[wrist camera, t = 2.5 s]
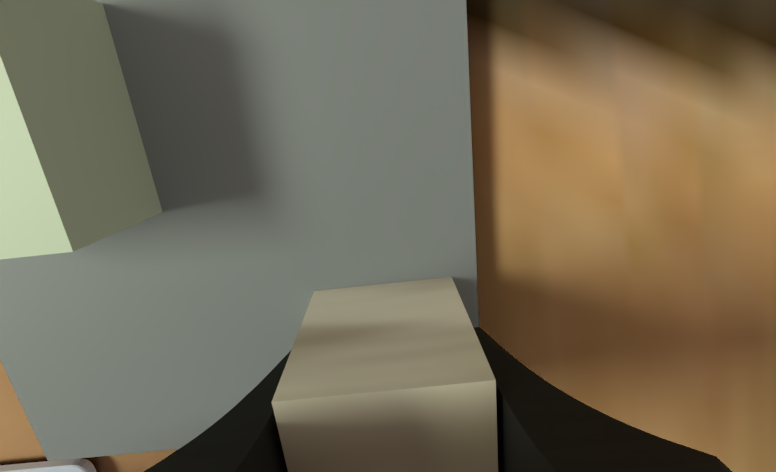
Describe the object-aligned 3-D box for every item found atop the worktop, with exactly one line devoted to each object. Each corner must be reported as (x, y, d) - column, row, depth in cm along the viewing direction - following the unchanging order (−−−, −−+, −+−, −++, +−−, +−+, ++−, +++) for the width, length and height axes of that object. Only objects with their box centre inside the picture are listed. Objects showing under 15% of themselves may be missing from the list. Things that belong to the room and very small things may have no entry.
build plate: (478, 407, 15) (482, 419, 14) (60, 448, 15) (48, 461, 14) (458, -64, 10) (463, -75, 10) (-140, 6, 10) (-171, 0, 10)
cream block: (458, 391, 14) (499, 541, 9) (334, 404, 14) (308, 559, 9) (451, 277, 12) (495, 380, 8) (314, 291, 12) (271, 402, 8)
